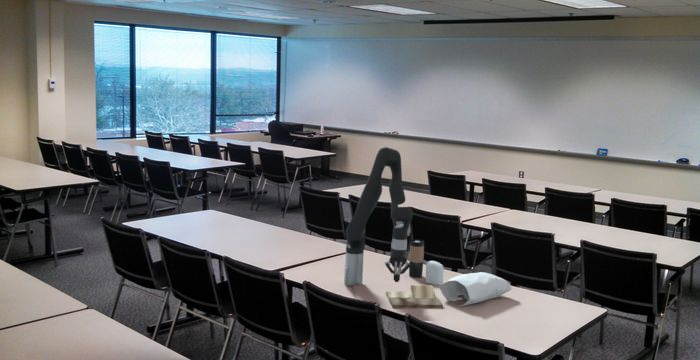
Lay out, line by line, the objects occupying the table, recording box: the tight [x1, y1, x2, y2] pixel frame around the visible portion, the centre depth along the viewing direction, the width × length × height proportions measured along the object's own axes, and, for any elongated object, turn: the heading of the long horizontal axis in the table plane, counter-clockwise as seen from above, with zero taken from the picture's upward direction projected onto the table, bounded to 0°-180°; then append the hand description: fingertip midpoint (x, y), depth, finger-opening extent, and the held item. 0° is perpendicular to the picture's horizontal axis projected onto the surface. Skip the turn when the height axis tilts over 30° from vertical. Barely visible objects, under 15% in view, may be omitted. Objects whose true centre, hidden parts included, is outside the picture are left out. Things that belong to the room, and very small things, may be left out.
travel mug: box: [408, 238, 425, 279], centre depth 350 cm, size 8×8×20 cm
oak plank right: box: [410, 284, 437, 298], centre depth 312 cm, size 11×9×2 cm
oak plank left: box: [385, 291, 413, 301], centre depth 312 cm, size 11×9×2 cm
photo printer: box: [425, 260, 444, 286], centre depth 338 cm, size 10×4×12 cm, turn 39°
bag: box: [438, 271, 512, 307], centre depth 316 cm, size 19×19×35 cm
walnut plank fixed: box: [388, 297, 444, 309], centre depth 303 cm, size 24×9×2 cm, turn 96°
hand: (396, 281), depth 312 cm, fingers closed
